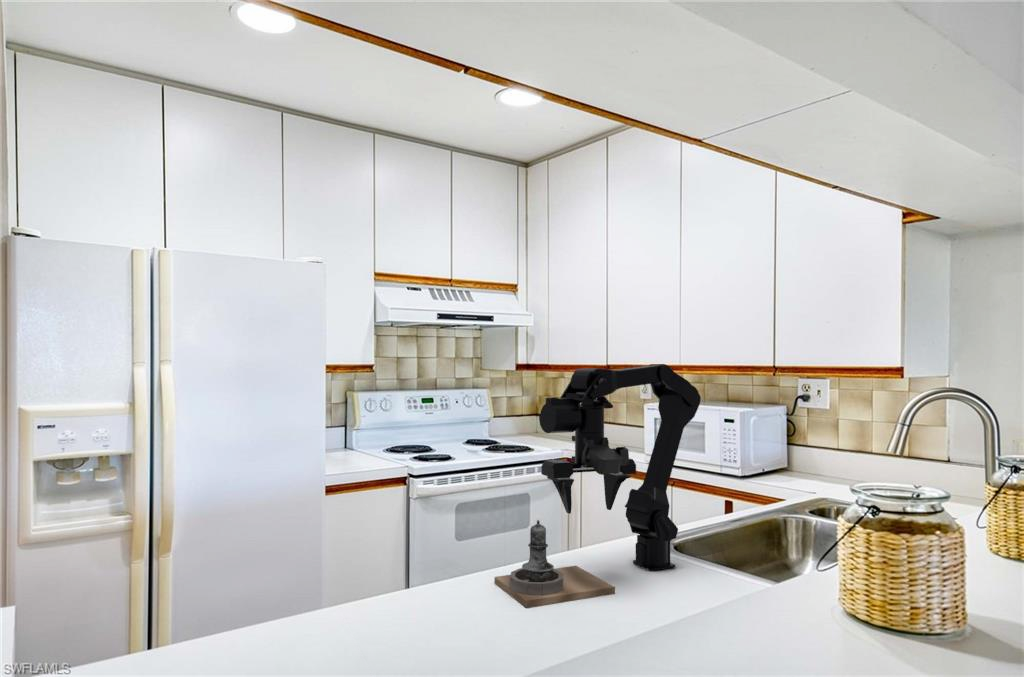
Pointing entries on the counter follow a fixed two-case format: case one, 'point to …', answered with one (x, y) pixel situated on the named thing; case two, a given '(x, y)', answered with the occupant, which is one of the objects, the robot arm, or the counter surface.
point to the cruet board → (554, 586)
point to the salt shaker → (537, 556)
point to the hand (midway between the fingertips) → (589, 511)
